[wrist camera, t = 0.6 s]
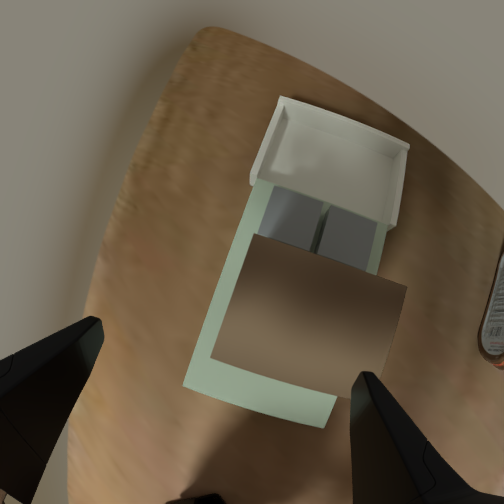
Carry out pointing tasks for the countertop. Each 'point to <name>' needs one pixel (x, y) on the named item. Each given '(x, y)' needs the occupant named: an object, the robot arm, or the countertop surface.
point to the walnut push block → (307, 319)
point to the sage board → (202, 366)
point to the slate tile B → (346, 238)
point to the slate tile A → (291, 218)
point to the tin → (494, 322)
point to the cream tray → (333, 160)
